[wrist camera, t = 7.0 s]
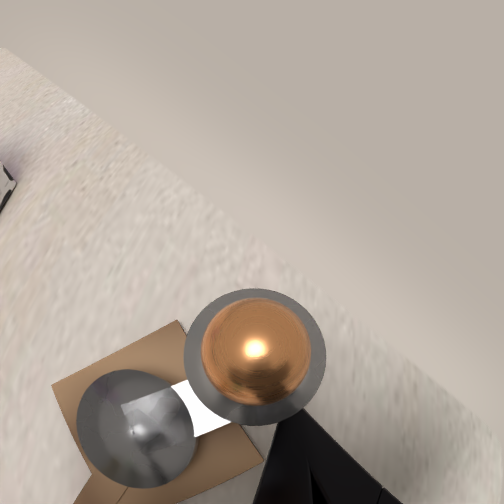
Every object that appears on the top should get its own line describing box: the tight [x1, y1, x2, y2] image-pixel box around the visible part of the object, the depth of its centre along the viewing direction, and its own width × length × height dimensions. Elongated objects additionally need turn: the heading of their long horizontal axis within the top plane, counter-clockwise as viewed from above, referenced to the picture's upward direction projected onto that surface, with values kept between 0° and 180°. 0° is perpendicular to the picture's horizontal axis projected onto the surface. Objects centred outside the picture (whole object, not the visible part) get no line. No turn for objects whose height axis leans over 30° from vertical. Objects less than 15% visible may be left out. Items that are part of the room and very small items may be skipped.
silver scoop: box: [76, 289, 326, 489], centre depth 9 cm, size 10×6×11 cm, turn 116°
